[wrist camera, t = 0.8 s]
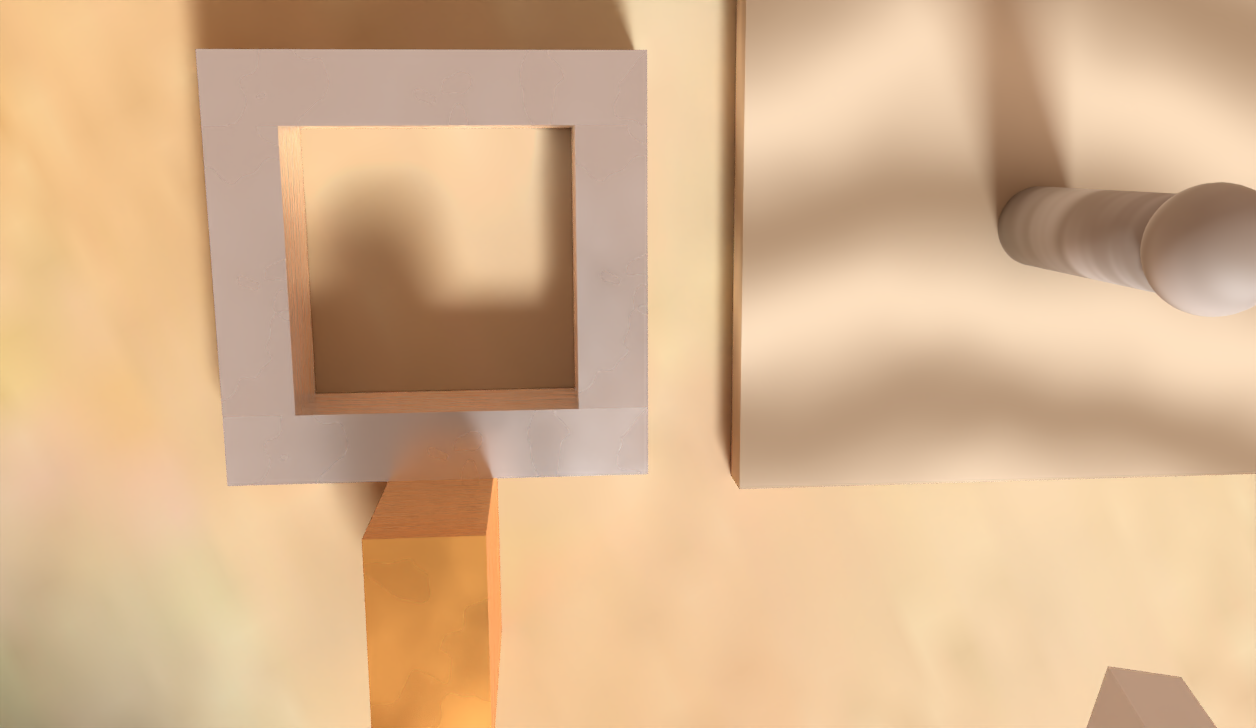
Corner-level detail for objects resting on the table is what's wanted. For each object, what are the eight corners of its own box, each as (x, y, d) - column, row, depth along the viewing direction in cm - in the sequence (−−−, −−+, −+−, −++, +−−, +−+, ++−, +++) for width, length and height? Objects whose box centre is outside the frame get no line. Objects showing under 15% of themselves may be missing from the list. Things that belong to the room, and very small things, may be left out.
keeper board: (1261, 460, 37) (1594, 598, 26) (731, 475, 36) (826, 629, 24) (1311, -40, 34) (1713, -142, 23) (737, -45, 33) (849, -157, 21)
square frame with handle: (226, 58, 32) (127, 27, 25) (637, 59, 33) (668, 28, 26) (266, 639, 36) (190, 774, 28) (639, 624, 37) (667, 751, 29)
